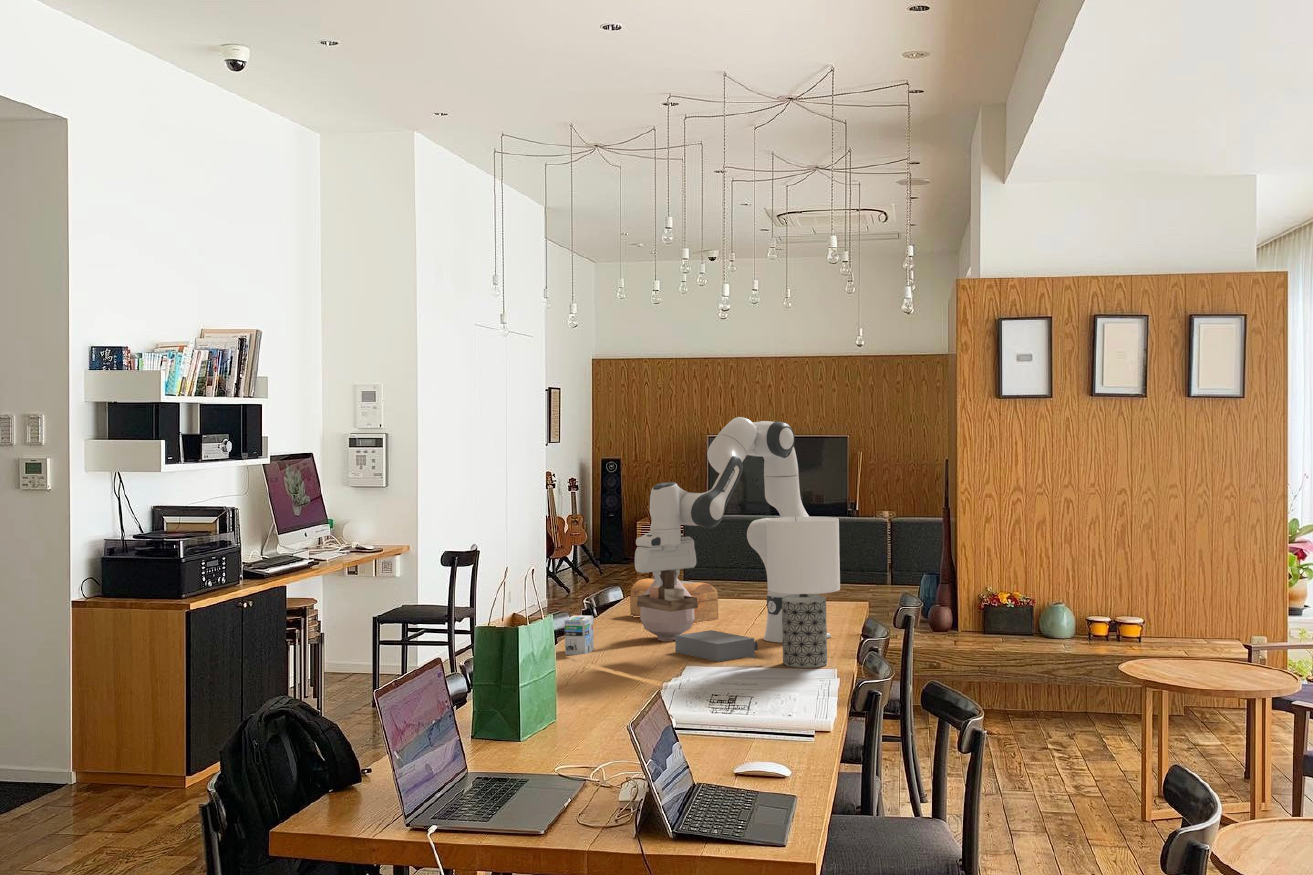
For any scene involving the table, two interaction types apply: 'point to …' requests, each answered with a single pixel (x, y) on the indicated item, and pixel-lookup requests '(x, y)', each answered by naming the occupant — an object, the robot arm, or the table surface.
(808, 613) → the lamp
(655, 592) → the terracotta block
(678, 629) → the vase
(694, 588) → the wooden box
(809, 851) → the table surface
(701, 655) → the loading dock
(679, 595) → the cream block
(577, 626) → the light bulb box
